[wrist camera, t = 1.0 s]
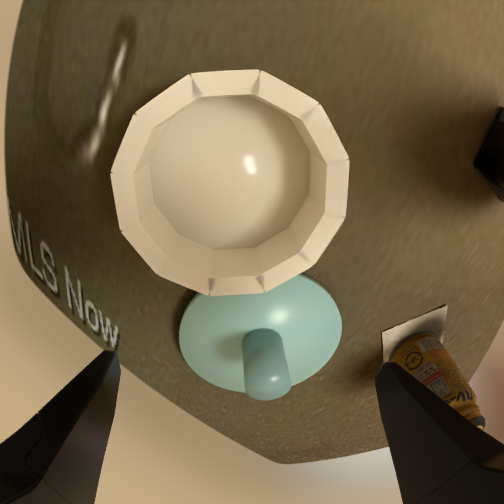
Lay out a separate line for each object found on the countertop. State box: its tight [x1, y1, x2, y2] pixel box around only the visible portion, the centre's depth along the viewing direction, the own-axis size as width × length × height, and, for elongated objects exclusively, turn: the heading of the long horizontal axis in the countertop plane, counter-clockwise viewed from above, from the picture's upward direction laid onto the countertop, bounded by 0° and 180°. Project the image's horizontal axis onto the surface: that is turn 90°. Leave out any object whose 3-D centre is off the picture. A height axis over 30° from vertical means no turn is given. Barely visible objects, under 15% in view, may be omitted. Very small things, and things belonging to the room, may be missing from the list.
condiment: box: [382, 306, 485, 430], centre depth 23 cm, size 7×8×12 cm
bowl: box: [110, 70, 350, 296], centre depth 17 cm, size 12×12×4 cm
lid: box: [179, 273, 342, 400], centre depth 23 cm, size 13×13×5 cm
